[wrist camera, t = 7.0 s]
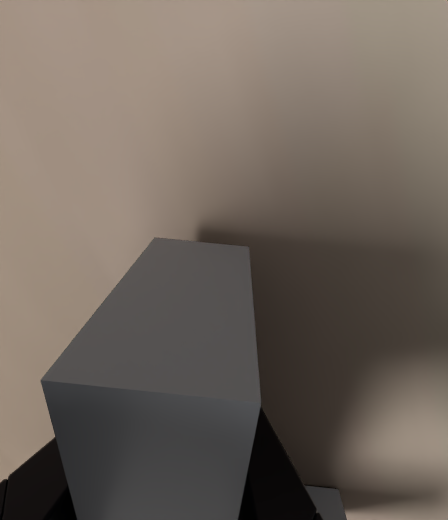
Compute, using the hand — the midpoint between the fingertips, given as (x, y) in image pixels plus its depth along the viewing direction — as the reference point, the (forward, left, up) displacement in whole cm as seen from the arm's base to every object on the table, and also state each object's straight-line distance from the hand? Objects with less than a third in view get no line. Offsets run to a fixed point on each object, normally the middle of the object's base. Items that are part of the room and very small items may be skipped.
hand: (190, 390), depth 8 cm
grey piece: (0, +2, -1) cm, 2 cm away
